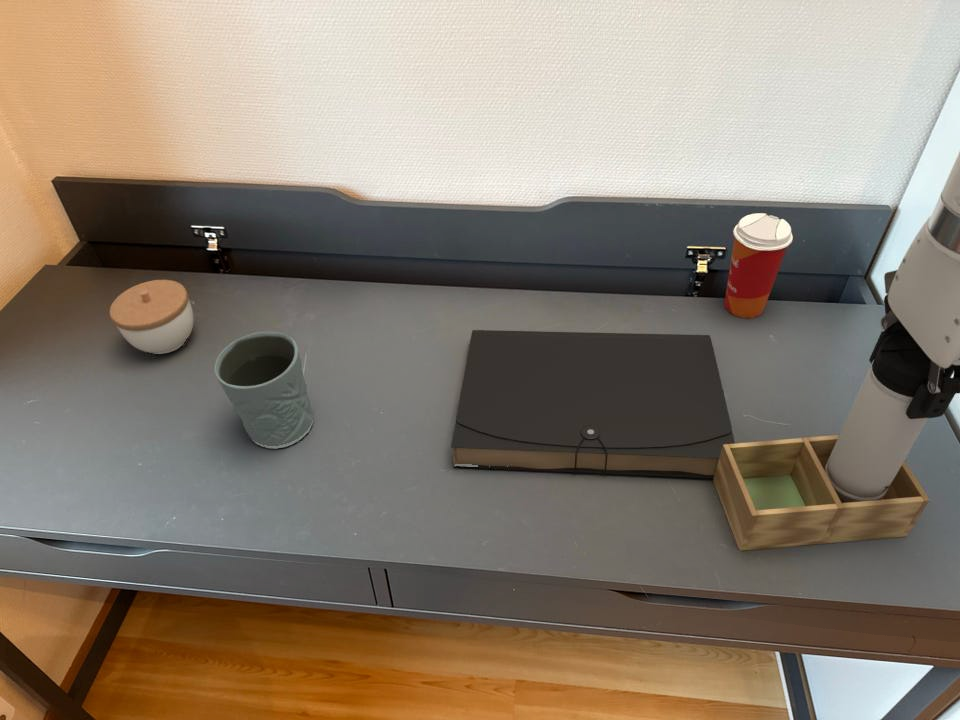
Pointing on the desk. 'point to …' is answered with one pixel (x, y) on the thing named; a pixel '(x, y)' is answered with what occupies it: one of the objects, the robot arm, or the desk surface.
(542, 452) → the file folder
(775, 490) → the storage box
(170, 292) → the trinket box
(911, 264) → the robot arm
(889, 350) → the travel mug
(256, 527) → the desk surface
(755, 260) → the paper cup
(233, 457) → the desk surface
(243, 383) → the green ceramic cup
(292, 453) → the desk surface
